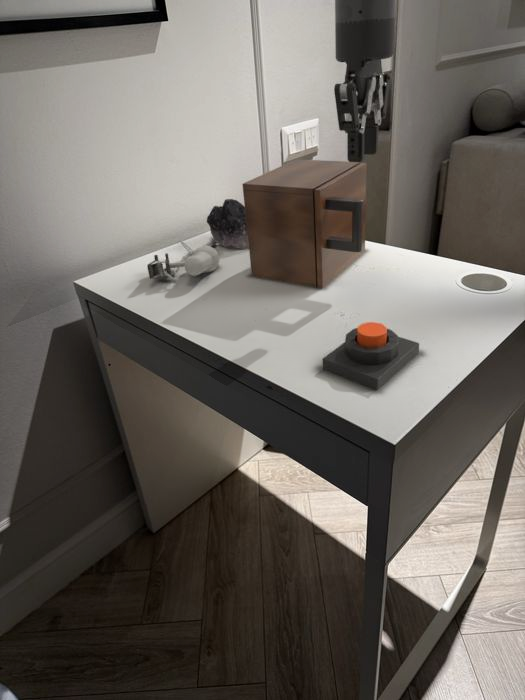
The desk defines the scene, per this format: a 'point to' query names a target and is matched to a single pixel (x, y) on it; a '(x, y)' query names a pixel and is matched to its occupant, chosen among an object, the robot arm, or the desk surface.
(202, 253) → the clip-on lamp
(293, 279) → the cabinet
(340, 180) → the cabinet door
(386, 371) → the button box
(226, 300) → the desk surface
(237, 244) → the crystal cluster
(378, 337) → the release button
